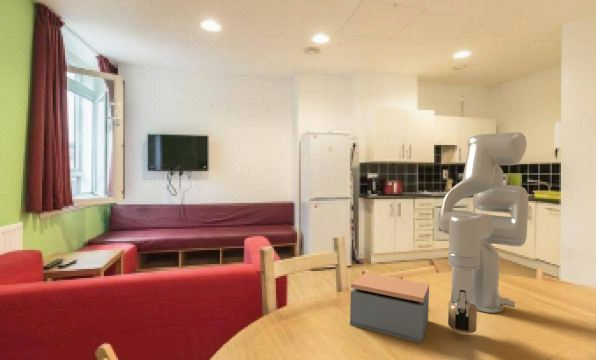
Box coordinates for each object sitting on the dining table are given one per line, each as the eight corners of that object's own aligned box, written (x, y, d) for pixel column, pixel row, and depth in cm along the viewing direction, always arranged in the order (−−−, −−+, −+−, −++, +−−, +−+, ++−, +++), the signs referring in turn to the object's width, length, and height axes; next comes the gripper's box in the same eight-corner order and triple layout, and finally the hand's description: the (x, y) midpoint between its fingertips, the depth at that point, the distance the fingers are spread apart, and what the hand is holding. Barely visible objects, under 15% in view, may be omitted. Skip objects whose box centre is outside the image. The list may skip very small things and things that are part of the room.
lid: (429, 287, 95) (429, 283, 95) (423, 302, 82) (423, 298, 82) (365, 276, 105) (365, 272, 105) (350, 287, 91) (351, 283, 92)
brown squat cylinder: (476, 323, 88) (476, 302, 88) (476, 335, 82) (477, 313, 81) (448, 317, 91) (449, 297, 91) (447, 328, 85) (447, 307, 85)
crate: (428, 320, 95) (429, 288, 95) (421, 343, 82) (423, 306, 82) (364, 306, 105) (365, 276, 105) (349, 324, 92) (350, 291, 91)
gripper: (449, 250, 95) (448, 307, 96) (446, 267, 80) (445, 334, 81) (478, 253, 91) (476, 312, 92) (480, 272, 76) (478, 342, 77)
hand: (462, 322), depth 86 cm, fingers closed on brown squat cylinder, 7 cm apart
